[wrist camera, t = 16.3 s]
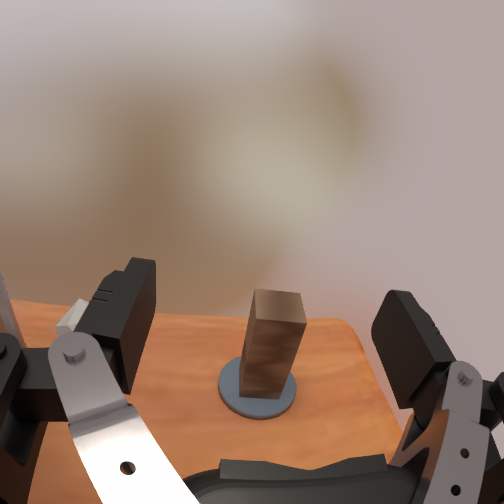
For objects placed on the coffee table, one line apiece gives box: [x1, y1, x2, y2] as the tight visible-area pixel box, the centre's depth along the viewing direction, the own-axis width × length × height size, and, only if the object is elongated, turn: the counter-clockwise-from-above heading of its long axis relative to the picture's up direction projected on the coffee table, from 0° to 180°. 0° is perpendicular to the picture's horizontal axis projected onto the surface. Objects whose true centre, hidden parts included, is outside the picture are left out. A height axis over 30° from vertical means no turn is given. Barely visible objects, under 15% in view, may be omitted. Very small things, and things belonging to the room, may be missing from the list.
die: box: [55, 299, 89, 337], centre depth 36 cm, size 8×9×10 cm
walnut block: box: [239, 289, 307, 399], centre depth 35 cm, size 5×5×13 cm
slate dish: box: [218, 357, 296, 420], centre depth 39 cm, size 10×10×1 cm
